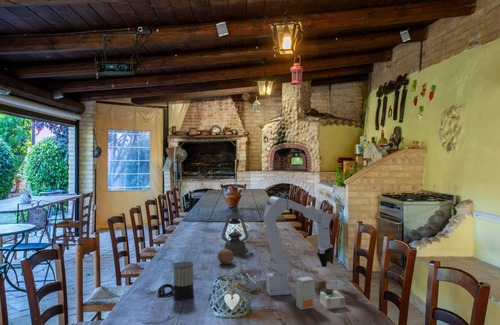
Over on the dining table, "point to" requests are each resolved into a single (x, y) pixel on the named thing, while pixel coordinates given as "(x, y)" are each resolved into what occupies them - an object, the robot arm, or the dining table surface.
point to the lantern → (235, 233)
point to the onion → (225, 256)
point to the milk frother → (180, 281)
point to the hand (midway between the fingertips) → (325, 264)
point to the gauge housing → (332, 300)
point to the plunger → (327, 292)
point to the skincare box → (304, 292)
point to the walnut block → (319, 285)
